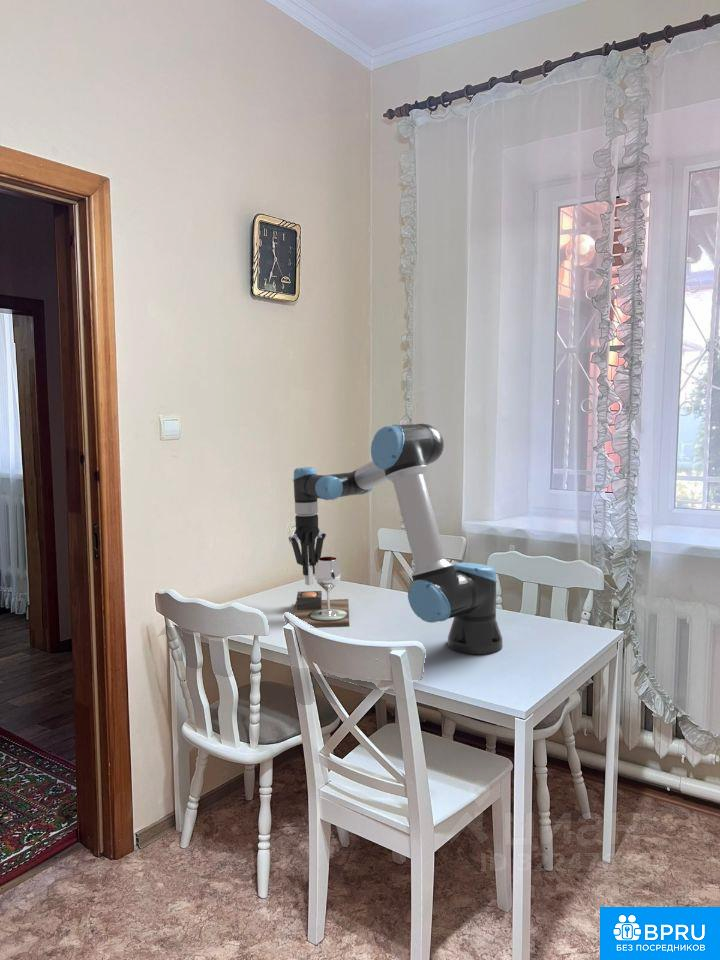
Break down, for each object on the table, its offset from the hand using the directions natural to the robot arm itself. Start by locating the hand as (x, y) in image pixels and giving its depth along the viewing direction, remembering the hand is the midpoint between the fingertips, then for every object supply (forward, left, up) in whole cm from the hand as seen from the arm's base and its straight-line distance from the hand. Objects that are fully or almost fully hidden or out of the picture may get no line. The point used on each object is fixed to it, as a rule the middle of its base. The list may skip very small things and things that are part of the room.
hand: (309, 584), depth 238 cm
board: (-6, -4, -9) cm, 11 cm away
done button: (0, 0, -7) cm, 7 cm away
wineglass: (-10, -6, -7) cm, 14 cm away
